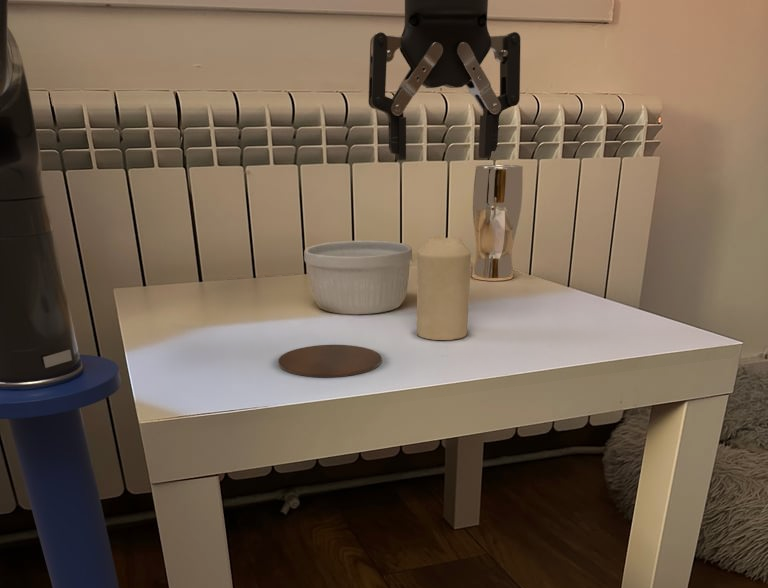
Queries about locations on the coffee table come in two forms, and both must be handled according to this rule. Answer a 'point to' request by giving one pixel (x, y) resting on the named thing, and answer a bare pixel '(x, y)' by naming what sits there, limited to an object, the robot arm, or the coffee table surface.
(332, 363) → the coaster
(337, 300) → the ramekin
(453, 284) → the candle
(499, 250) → the beer glass
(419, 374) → the coffee table surface
